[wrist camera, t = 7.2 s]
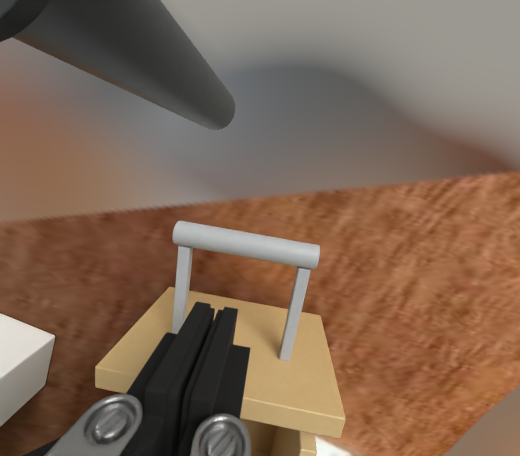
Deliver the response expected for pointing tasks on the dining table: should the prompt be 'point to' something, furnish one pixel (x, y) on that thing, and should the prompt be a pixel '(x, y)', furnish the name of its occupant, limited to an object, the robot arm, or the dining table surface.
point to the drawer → (249, 344)
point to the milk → (21, 363)
